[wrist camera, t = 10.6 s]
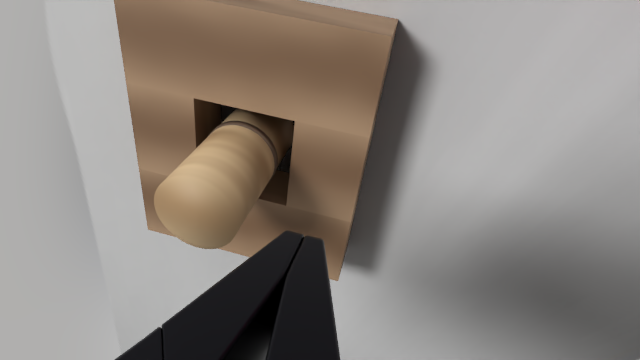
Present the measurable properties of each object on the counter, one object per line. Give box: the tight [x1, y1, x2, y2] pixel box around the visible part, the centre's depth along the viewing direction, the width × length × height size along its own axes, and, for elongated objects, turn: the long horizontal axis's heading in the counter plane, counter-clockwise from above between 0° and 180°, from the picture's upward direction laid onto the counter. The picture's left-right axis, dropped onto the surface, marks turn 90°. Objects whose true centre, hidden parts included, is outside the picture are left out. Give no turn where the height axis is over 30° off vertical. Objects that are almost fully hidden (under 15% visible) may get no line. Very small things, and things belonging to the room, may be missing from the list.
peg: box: [154, 108, 294, 249], centre depth 20 cm, size 4×4×8 cm
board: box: [114, 0, 398, 281], centre depth 22 cm, size 14×12×3 cm
